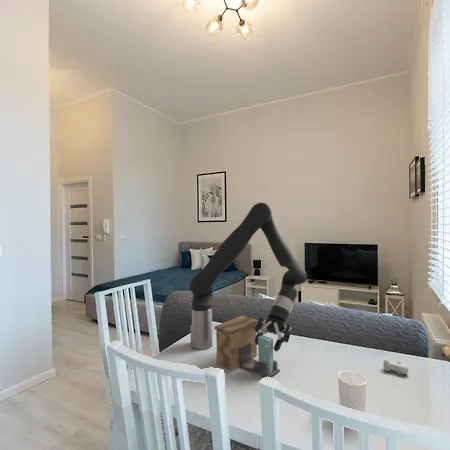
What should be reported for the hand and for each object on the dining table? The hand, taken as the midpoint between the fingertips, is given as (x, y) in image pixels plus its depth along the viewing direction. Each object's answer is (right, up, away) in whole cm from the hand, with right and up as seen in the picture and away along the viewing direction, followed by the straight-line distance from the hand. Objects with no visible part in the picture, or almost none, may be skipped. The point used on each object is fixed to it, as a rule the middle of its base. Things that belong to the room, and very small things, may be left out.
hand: (265, 347), depth 107 cm
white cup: (+23, -9, -23) cm, 34 cm away
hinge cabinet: (-5, -9, +5) cm, 12 cm away
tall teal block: (0, -8, 0) cm, 8 cm away
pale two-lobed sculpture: (+48, -9, -1) cm, 49 cm away
